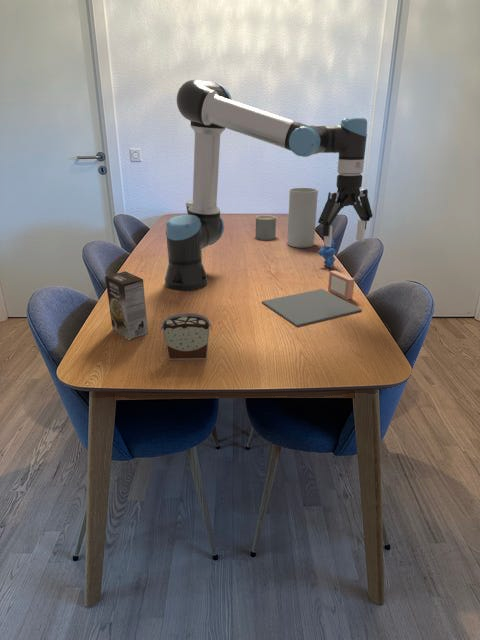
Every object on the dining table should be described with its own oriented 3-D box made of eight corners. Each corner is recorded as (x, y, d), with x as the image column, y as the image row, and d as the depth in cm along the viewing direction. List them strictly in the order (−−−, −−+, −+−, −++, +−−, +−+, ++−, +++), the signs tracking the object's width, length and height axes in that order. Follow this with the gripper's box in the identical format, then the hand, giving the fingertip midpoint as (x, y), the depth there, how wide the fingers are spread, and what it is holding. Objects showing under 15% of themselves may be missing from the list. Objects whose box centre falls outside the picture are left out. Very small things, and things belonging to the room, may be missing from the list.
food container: (213, 347, 113) (212, 311, 108) (212, 358, 107) (211, 322, 103) (165, 347, 112) (162, 312, 108) (162, 359, 107) (159, 323, 102)
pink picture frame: (352, 299, 143) (354, 279, 140) (346, 300, 142) (349, 280, 139) (333, 289, 151) (334, 270, 148) (327, 290, 150) (329, 271, 147)
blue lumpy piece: (313, 262, 179) (316, 233, 174) (330, 261, 180) (332, 233, 175) (320, 271, 169) (322, 240, 164) (337, 270, 169) (340, 240, 164)
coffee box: (111, 330, 122) (103, 275, 115) (131, 323, 126) (125, 270, 119) (128, 340, 116) (121, 284, 109) (149, 333, 120) (143, 278, 113)
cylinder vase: (285, 247, 200) (287, 191, 189) (289, 240, 211) (291, 187, 200) (312, 249, 197) (316, 192, 187) (315, 242, 208) (319, 188, 198)
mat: (297, 326, 124) (297, 324, 123) (261, 302, 140) (261, 301, 139) (361, 311, 134) (361, 309, 133) (321, 290, 150) (321, 288, 149)
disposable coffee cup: (184, 222, 248) (183, 201, 243) (201, 221, 250) (200, 200, 245) (188, 226, 240) (187, 203, 234) (205, 224, 242) (204, 203, 237)
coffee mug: (276, 239, 212) (277, 219, 208) (256, 240, 212) (257, 219, 207) (272, 233, 224) (273, 213, 220) (253, 233, 224) (253, 214, 219)
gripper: (325, 178, 123) (320, 251, 131) (389, 172, 133) (380, 240, 142) (309, 175, 129) (305, 245, 137) (371, 170, 139) (364, 235, 148)
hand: (343, 243), depth 140 cm, fingers open, 13 cm apart
